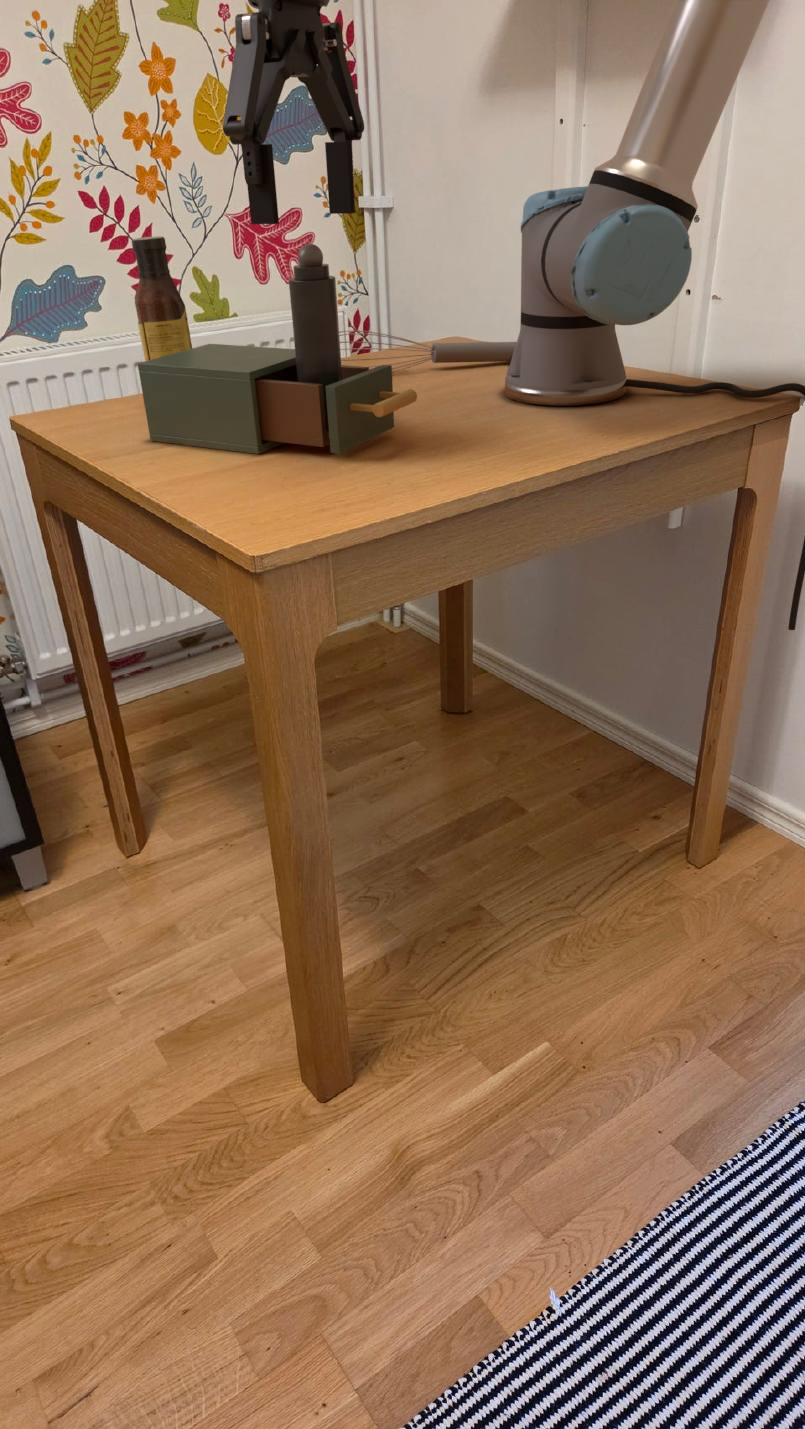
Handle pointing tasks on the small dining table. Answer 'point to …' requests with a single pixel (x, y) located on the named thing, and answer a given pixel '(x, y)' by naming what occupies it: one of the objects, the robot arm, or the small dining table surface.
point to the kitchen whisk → (450, 351)
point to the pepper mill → (315, 321)
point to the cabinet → (210, 395)
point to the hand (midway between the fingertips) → (305, 219)
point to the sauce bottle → (158, 302)
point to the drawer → (329, 407)
